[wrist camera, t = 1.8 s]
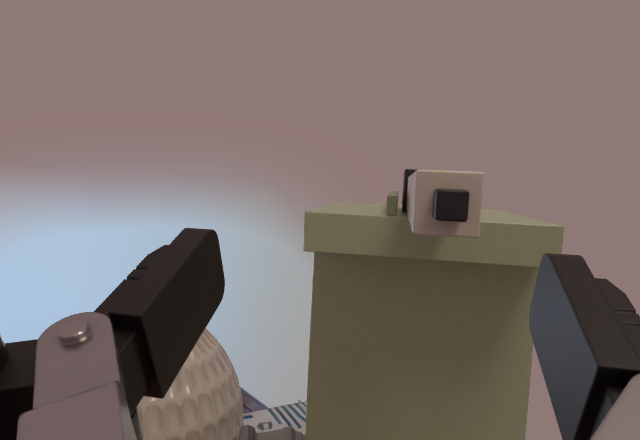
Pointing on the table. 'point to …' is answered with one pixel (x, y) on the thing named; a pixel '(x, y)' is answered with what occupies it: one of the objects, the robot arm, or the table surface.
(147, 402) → the vase
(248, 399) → the table surface
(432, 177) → the marker
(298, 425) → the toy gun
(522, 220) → the green railed pedestal
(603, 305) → the robot arm
